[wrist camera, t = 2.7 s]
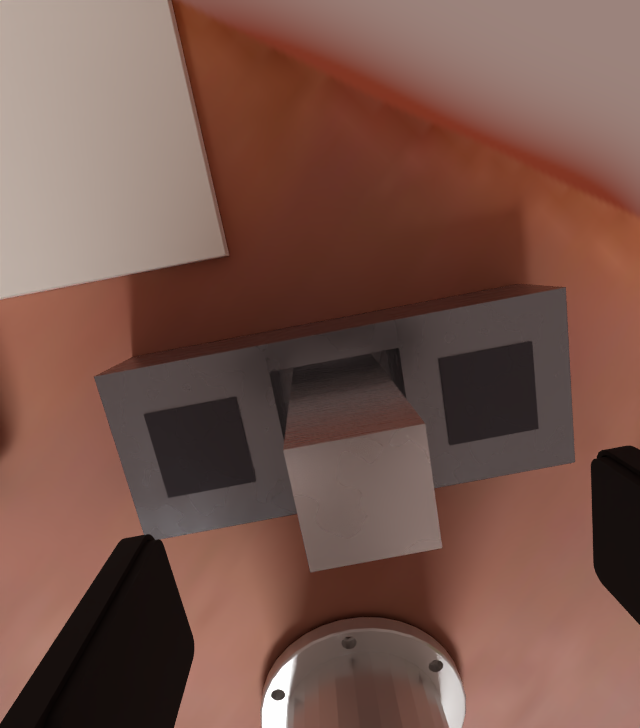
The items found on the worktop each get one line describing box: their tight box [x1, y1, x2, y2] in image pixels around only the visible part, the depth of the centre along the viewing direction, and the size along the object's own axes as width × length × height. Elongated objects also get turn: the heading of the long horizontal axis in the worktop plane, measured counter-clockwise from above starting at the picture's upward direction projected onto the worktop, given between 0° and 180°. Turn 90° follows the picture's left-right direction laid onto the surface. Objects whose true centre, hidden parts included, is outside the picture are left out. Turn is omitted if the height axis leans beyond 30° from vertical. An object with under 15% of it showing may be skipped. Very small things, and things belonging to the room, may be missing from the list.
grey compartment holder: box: [94, 284, 575, 540], centre depth 20 cm, size 8×20×4 cm, turn 101°
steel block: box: [283, 353, 442, 572], centre depth 17 cm, size 4×4×10 cm
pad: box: [0, 0, 229, 300], centre depth 19 cm, size 12×12×1 cm
